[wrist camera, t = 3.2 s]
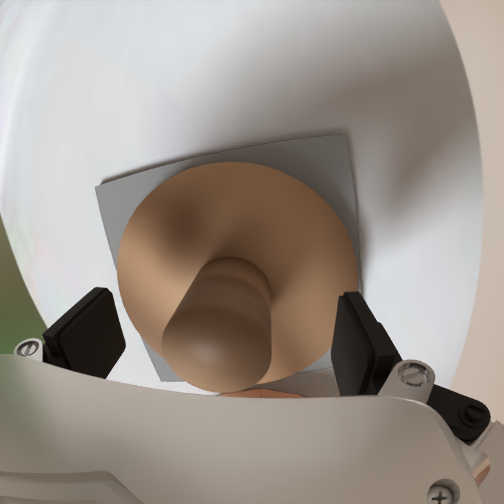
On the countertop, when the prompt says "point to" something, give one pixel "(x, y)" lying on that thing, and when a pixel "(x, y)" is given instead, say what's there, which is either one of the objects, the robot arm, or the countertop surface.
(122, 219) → the mat
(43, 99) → the countertop surface
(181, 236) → the lid
